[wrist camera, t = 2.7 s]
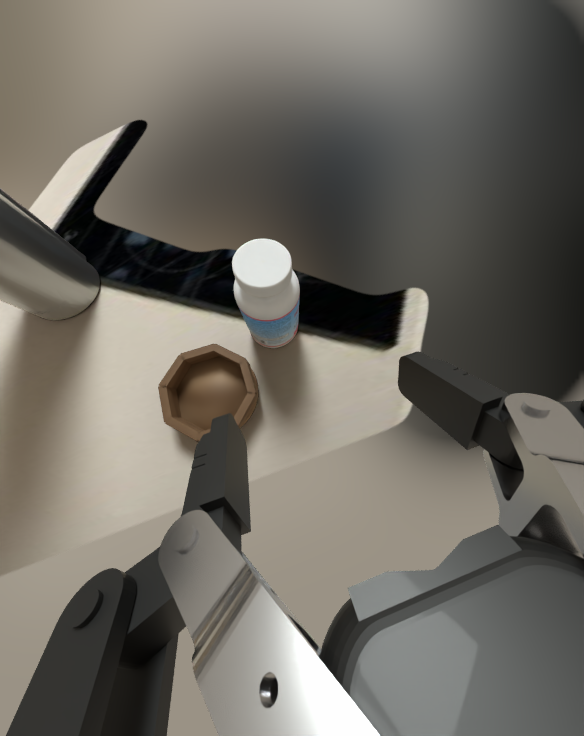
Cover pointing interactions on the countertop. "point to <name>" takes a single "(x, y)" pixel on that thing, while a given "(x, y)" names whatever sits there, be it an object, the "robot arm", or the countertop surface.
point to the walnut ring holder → (207, 390)
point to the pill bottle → (267, 291)
